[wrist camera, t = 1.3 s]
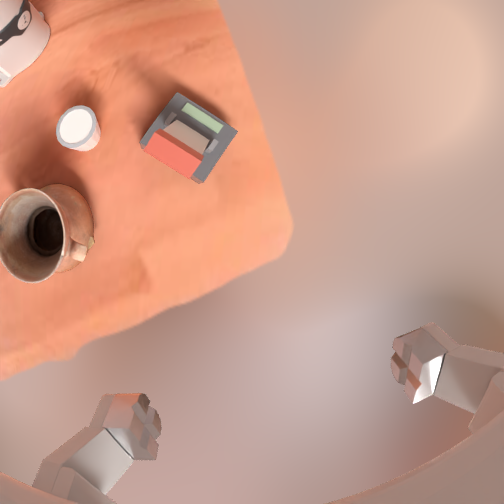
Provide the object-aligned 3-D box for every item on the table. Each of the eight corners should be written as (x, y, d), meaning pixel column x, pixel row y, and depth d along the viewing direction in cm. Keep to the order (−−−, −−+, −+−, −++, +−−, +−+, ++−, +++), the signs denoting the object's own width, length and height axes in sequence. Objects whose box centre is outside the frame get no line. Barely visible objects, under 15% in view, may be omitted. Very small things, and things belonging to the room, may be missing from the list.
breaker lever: (203, 150, 41) (189, 179, 31) (169, 129, 39) (143, 150, 28) (212, 137, 40) (201, 161, 30) (178, 115, 38) (154, 132, 27)
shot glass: (63, 152, 37) (50, 145, 31) (75, 115, 37) (64, 103, 30) (97, 157, 40) (88, 150, 33) (109, 119, 39) (102, 107, 32)
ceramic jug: (115, 204, 42) (97, 204, 29) (89, 282, 43) (66, 311, 30) (34, 170, 36) (-5, 161, 23) (11, 246, 36) (-29, 261, 23)
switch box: (199, 183, 46) (207, 181, 39) (141, 147, 42) (138, 138, 35) (230, 137, 47) (243, 127, 39) (174, 101, 42) (178, 85, 35)
